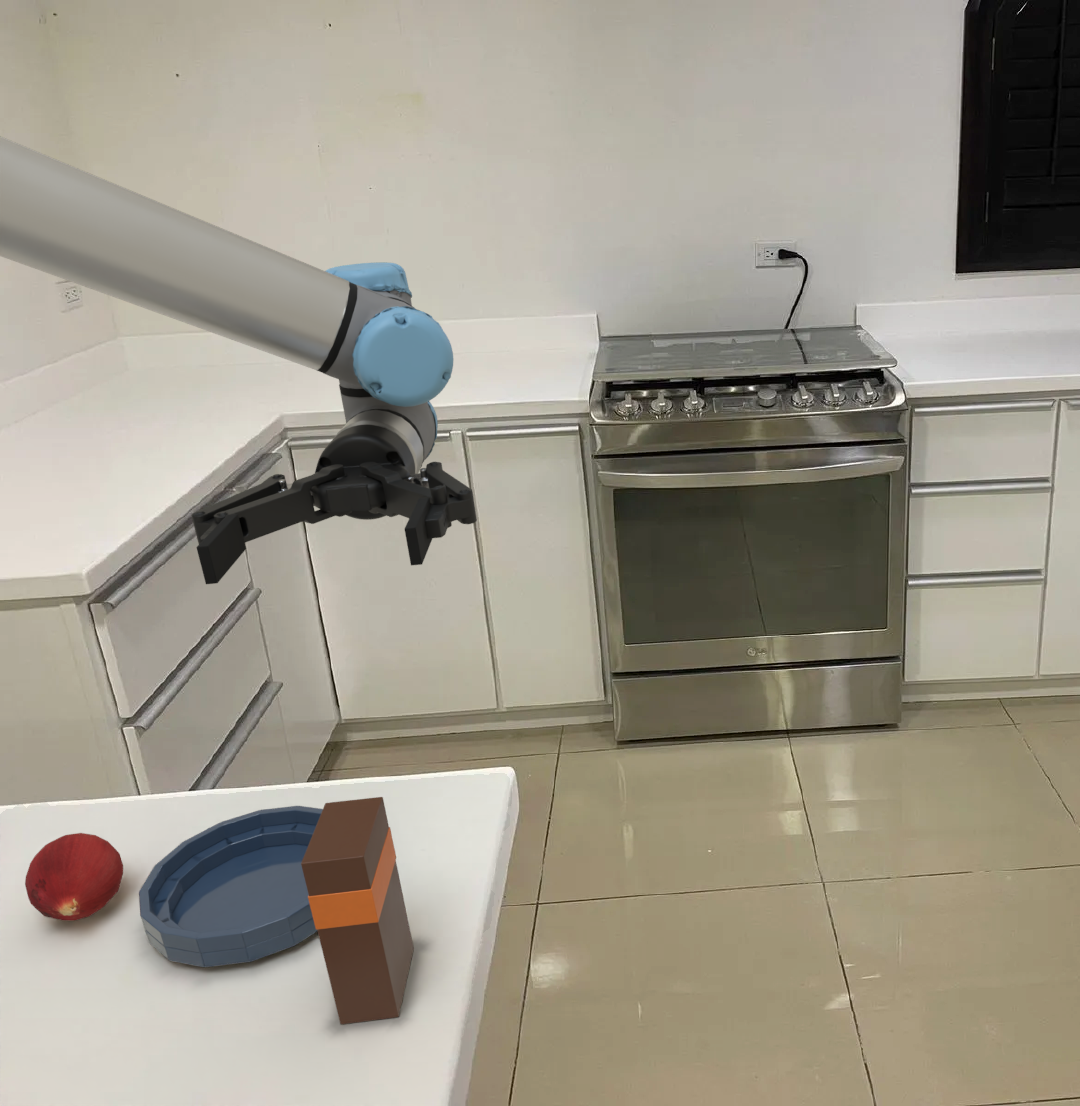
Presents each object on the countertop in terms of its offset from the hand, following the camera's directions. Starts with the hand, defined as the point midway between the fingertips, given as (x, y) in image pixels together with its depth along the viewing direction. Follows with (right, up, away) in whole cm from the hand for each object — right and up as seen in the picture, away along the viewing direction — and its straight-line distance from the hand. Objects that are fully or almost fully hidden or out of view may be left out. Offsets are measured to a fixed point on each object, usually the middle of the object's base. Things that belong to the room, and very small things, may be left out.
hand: (310, 556), depth 73 cm
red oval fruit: (-19, -21, +6) cm, 29 cm away
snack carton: (+6, -27, -4) cm, 28 cm away
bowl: (-5, -25, +4) cm, 25 cm away
